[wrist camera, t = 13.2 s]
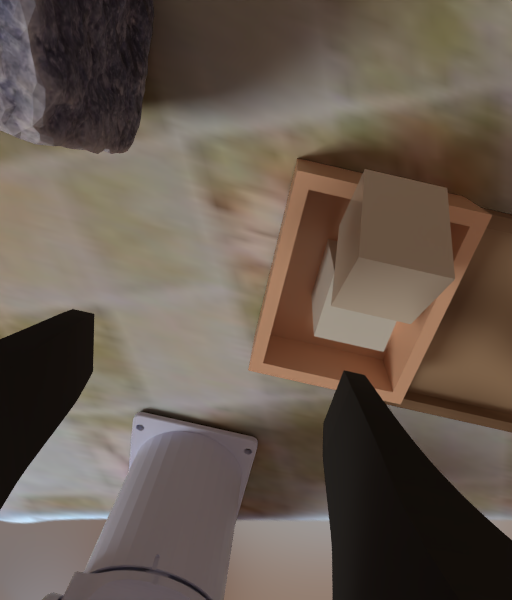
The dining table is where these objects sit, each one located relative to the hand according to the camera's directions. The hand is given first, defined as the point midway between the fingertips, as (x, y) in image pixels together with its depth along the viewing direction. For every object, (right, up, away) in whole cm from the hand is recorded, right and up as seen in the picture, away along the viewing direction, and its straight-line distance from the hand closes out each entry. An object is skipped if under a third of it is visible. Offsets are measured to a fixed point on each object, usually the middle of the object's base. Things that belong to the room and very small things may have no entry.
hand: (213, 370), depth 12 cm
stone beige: (+6, +3, +4) cm, 8 cm away
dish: (+6, +3, +9) cm, 11 cm away
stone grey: (+5, +1, +7) cm, 9 cm away
